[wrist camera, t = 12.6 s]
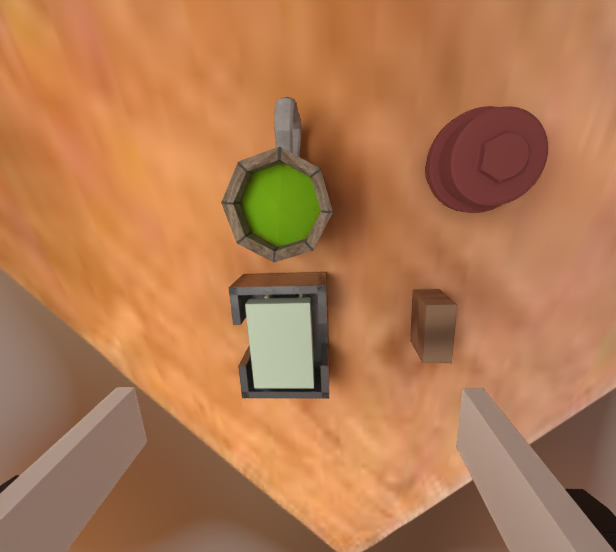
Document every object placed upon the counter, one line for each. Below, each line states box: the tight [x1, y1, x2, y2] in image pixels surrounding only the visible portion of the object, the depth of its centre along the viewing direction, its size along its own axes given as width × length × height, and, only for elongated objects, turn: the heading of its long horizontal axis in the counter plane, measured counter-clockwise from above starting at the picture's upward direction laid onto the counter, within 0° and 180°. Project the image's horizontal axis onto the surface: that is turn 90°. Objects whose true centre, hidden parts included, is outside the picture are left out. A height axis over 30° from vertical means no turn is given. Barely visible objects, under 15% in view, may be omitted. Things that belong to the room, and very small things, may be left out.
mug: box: [221, 97, 333, 262], centre depth 33 cm, size 16×11×12 cm
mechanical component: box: [425, 106, 548, 213], centre depth 31 cm, size 12×10×10 cm
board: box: [245, 298, 314, 388], centre depth 39 cm, size 12×8×2 cm, turn 3°
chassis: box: [229, 272, 329, 398], centre depth 41 cm, size 16×12×6 cm
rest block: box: [410, 289, 457, 363], centre depth 40 cm, size 8×4×6 cm, turn 3°
